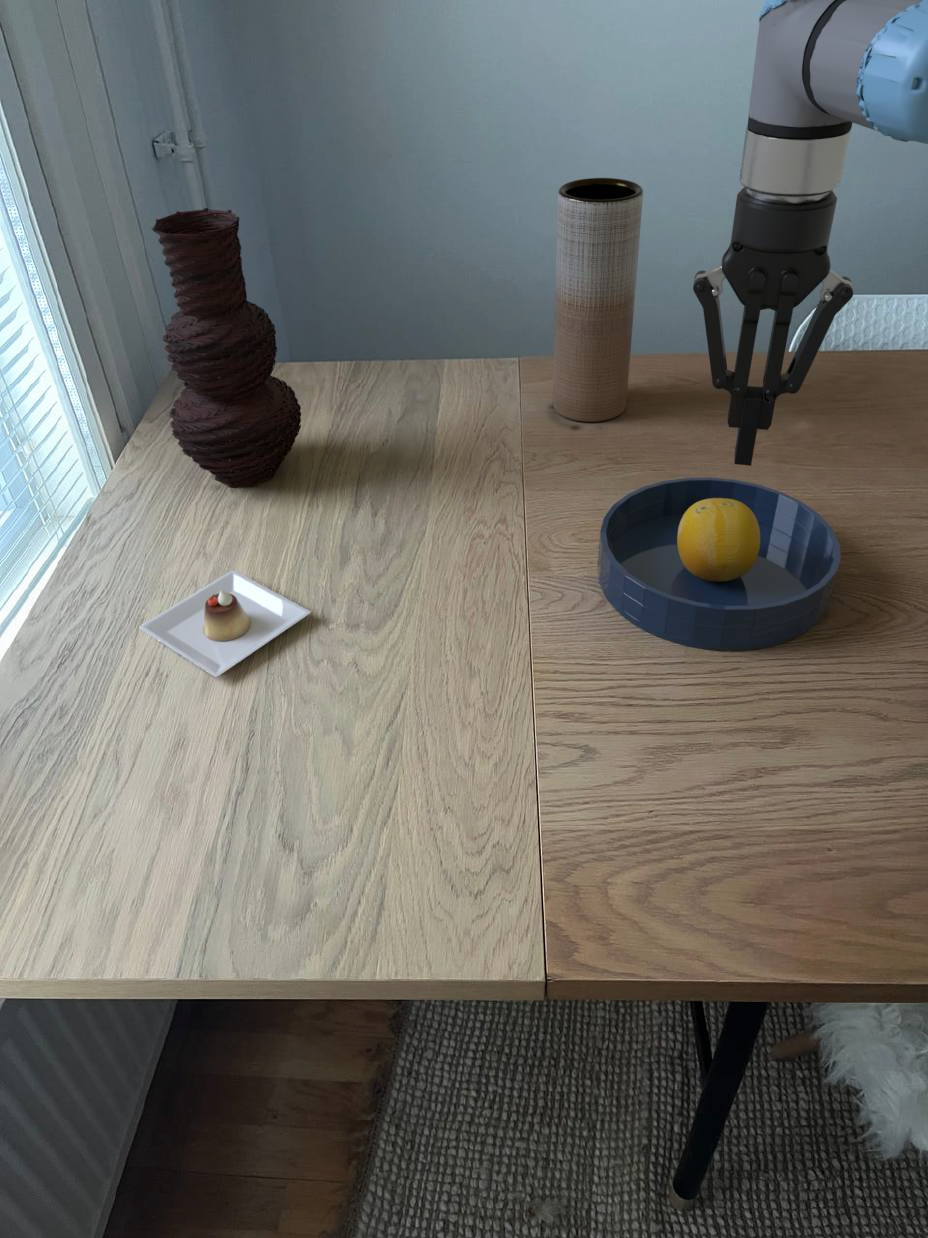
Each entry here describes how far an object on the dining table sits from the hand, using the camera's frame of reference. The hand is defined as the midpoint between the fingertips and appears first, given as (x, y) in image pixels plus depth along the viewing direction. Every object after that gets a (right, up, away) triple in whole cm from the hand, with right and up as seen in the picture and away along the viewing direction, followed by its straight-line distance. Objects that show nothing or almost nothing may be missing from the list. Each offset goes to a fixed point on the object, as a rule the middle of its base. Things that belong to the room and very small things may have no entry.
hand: (742, 457), depth 88 cm
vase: (-53, +3, +30) cm, 61 cm away
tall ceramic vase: (-9, +14, +40) cm, 43 cm away
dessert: (-50, -16, +6) cm, 52 cm away
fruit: (-1, -10, +9) cm, 14 cm away
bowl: (-1, -11, +9) cm, 14 cm away
